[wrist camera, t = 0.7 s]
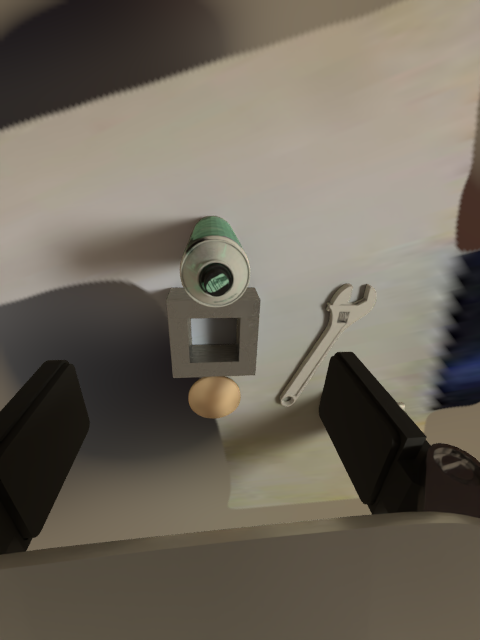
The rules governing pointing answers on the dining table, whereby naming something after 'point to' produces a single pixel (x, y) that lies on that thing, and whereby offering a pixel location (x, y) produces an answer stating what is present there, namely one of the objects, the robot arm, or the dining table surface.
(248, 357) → the block
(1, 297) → the dining table surface
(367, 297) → the adjustable wrench
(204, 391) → the coaster
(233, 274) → the spray can
